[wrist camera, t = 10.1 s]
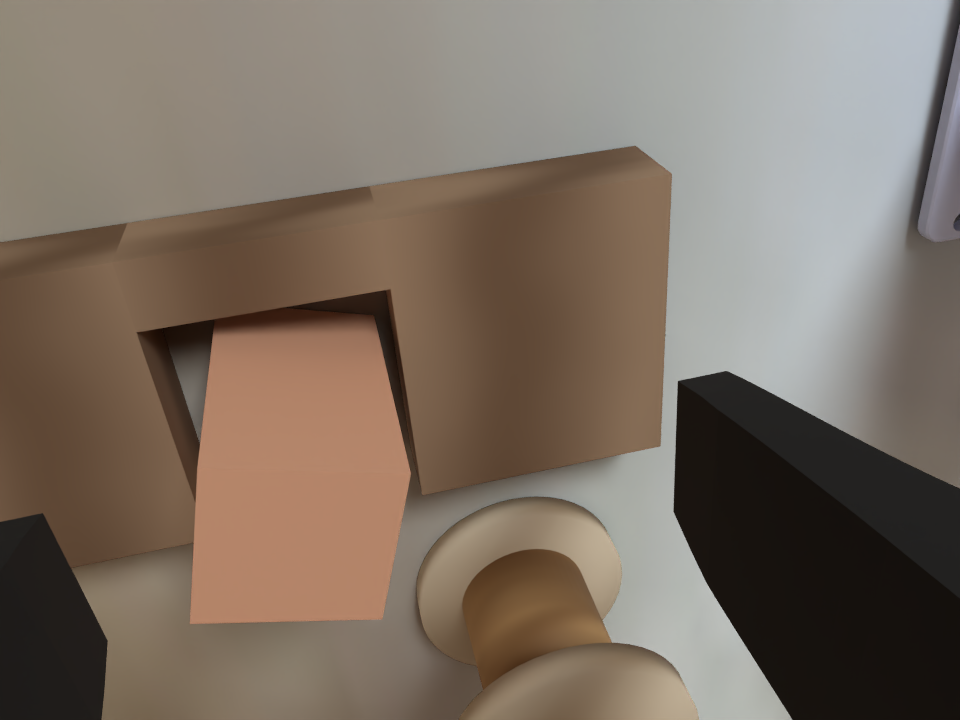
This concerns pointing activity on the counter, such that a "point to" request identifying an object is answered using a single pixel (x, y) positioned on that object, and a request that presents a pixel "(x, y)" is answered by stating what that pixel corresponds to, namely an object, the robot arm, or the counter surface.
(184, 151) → the counter surface
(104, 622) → the counter surface
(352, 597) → the salmon pink cuboid
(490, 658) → the bobbin
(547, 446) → the notched board
